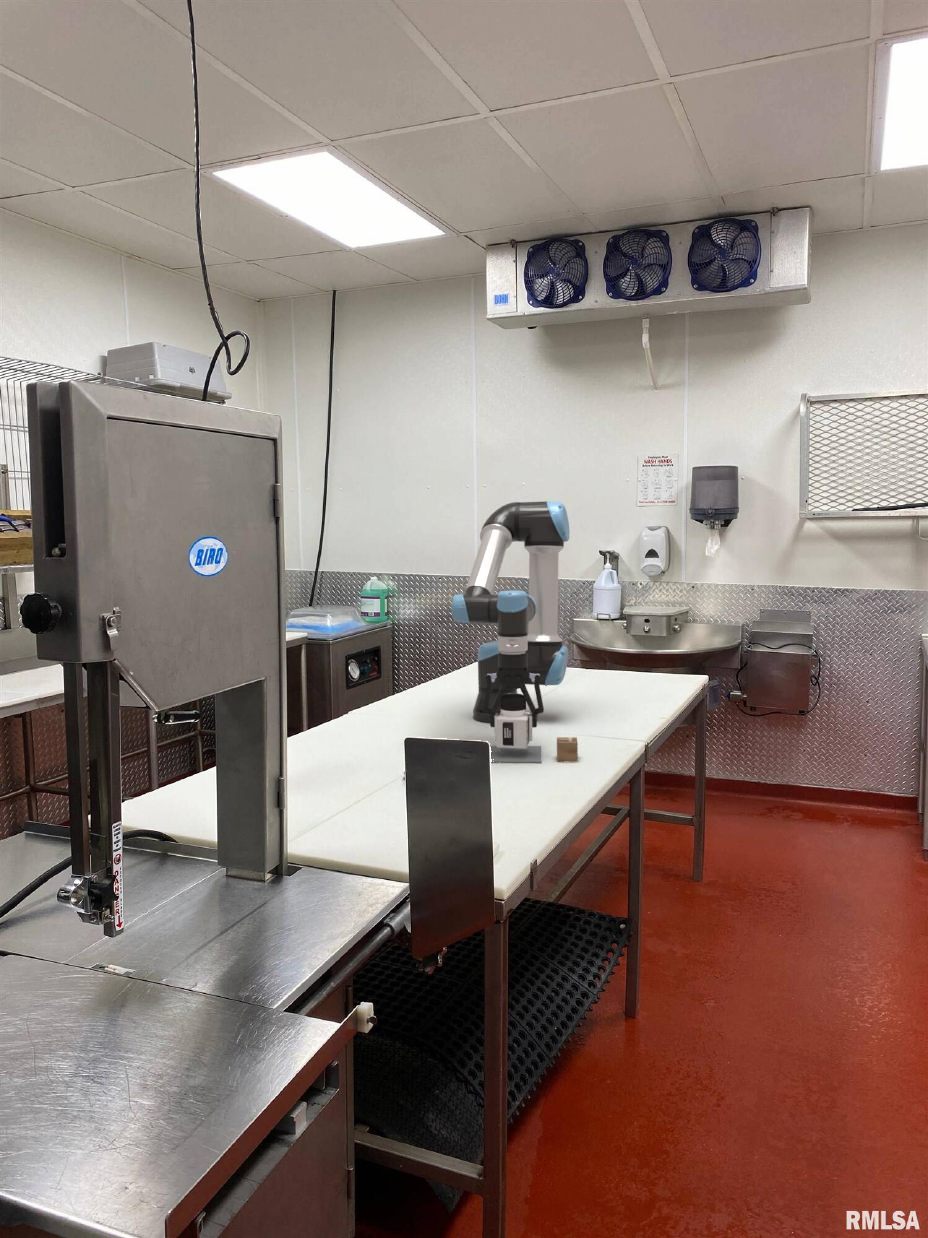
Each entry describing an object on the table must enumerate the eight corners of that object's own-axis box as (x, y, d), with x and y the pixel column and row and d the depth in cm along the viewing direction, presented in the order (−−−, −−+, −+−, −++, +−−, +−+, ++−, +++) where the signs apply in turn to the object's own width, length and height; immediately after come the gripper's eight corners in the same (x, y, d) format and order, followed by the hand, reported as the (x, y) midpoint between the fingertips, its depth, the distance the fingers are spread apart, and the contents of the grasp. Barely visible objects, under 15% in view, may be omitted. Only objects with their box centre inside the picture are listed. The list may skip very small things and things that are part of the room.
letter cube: (556, 756, 221) (556, 736, 220) (576, 756, 220) (576, 736, 220) (557, 762, 216) (557, 741, 215) (577, 762, 216) (577, 742, 215)
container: (526, 749, 217) (526, 698, 216) (496, 748, 219) (495, 697, 217) (530, 741, 225) (530, 691, 223) (501, 740, 226) (500, 691, 225)
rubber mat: (488, 747, 230) (488, 745, 230) (541, 747, 229) (541, 746, 229) (485, 762, 216) (484, 761, 216) (541, 763, 215) (541, 761, 215)
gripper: (470, 654, 216) (471, 743, 219) (554, 654, 214) (554, 743, 217) (472, 649, 224) (474, 735, 226) (554, 649, 222) (554, 736, 225)
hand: (513, 739), depth 222 cm, fingers closed on container, 8 cm apart
